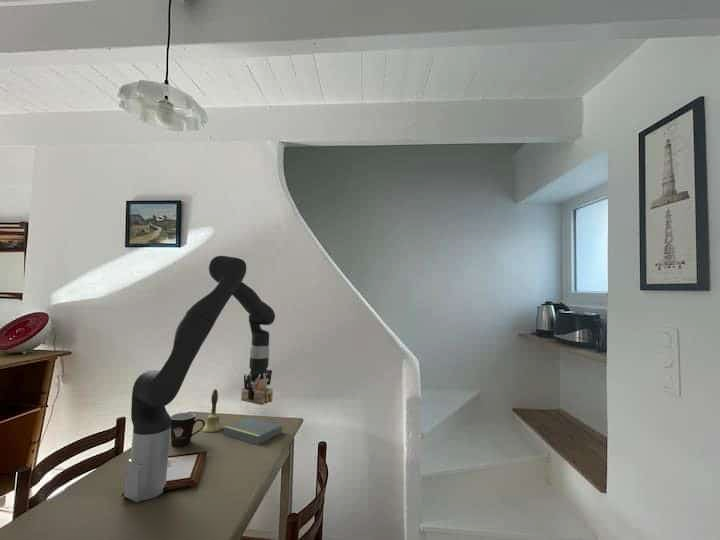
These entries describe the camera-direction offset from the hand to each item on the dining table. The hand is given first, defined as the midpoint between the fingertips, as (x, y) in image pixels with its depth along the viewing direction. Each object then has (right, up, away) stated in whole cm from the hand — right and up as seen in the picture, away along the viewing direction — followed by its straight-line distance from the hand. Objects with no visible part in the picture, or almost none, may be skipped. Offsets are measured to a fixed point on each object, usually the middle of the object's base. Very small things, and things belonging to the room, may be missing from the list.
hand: (257, 397), depth 144 cm
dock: (-1, -14, -1) cm, 15 cm away
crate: (0, +4, 0) cm, 4 cm away
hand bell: (-20, -14, +3) cm, 25 cm away
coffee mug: (-24, -13, -13) cm, 30 cm away
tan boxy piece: (0, -1, 0) cm, 1 cm away
